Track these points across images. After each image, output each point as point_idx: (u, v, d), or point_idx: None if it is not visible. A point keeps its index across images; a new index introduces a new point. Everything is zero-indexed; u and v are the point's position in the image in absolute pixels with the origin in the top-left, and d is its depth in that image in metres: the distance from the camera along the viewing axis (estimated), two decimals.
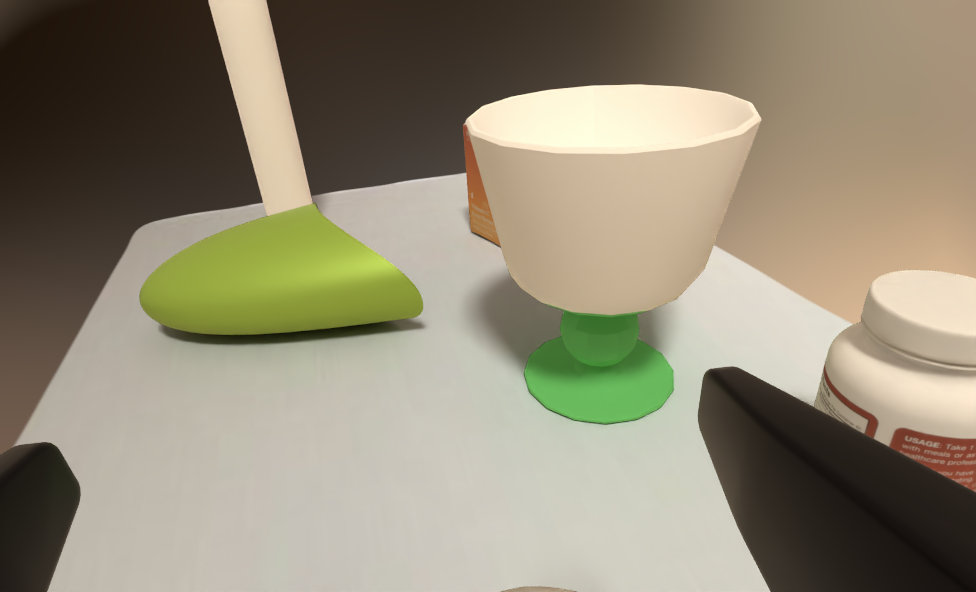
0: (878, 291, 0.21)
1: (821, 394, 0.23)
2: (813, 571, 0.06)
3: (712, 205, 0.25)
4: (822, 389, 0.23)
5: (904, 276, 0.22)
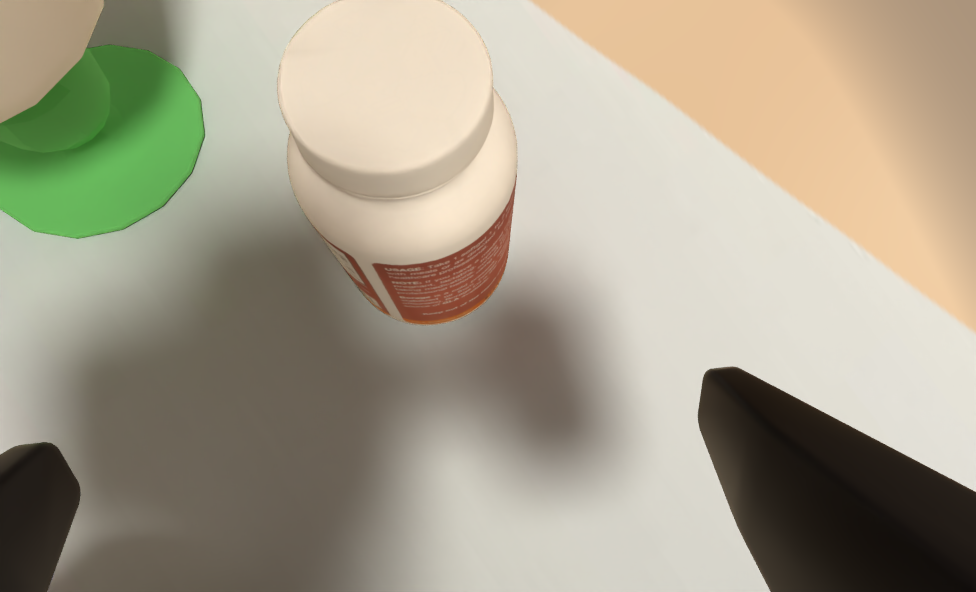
0: (287, 81, 0.12)
1: None
2: (812, 571, 0.06)
3: None
4: None
5: (332, 21, 0.13)
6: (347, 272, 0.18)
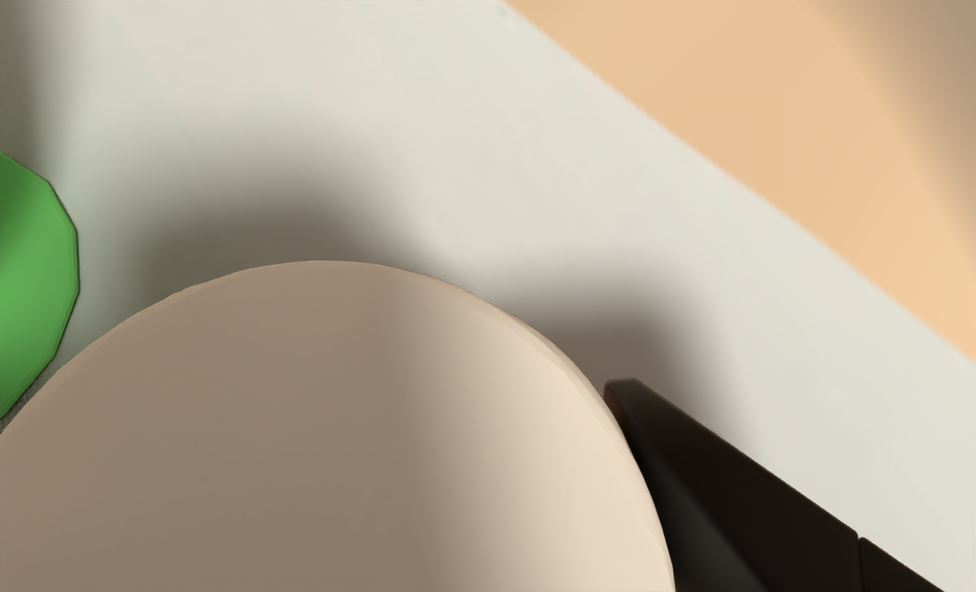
0: None
1: None
2: (682, 588, 0.06)
3: None
4: None
5: (128, 388, 0.04)
6: None
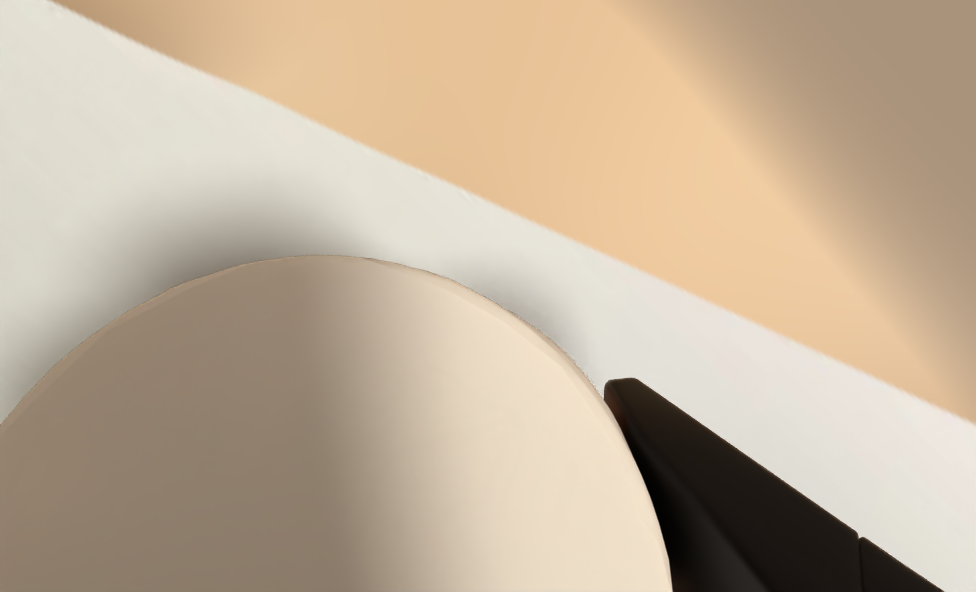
0: None
1: None
2: (682, 588, 0.06)
3: None
4: None
5: (126, 385, 0.04)
6: None
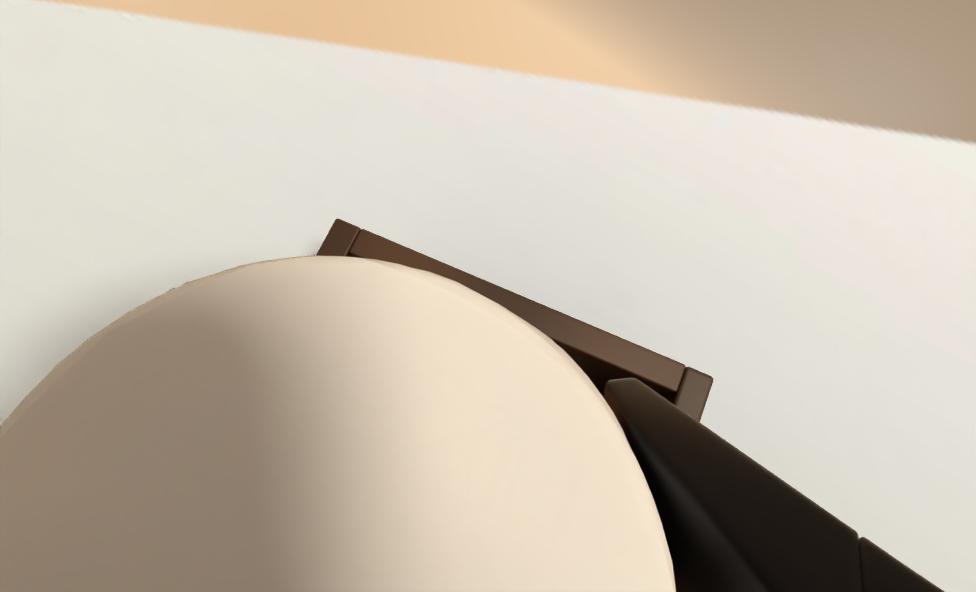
0: None
1: None
2: (682, 587, 0.06)
3: None
4: None
5: (127, 384, 0.04)
6: None
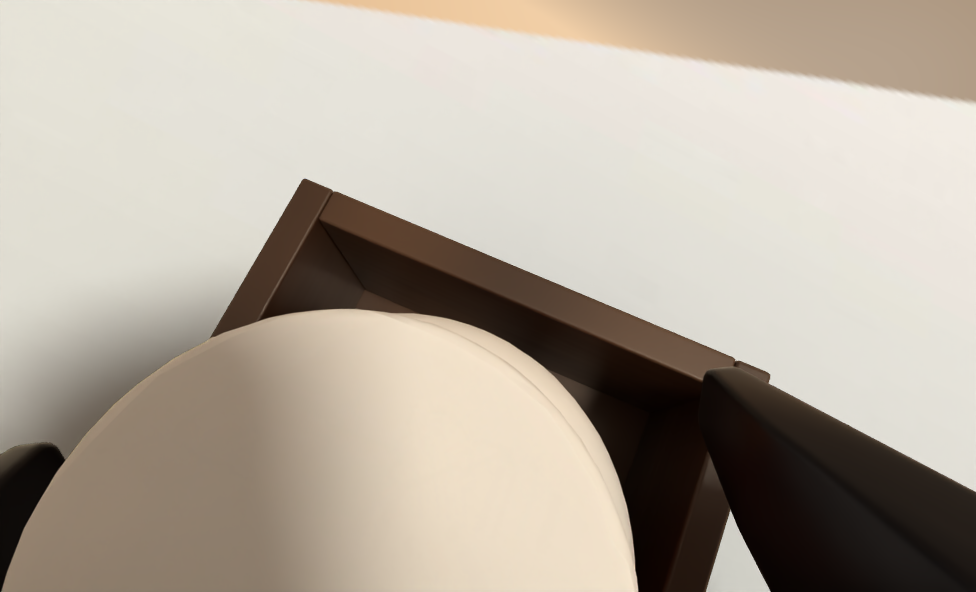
0: None
1: None
2: (812, 571, 0.06)
3: None
4: None
5: (174, 423, 0.04)
6: None
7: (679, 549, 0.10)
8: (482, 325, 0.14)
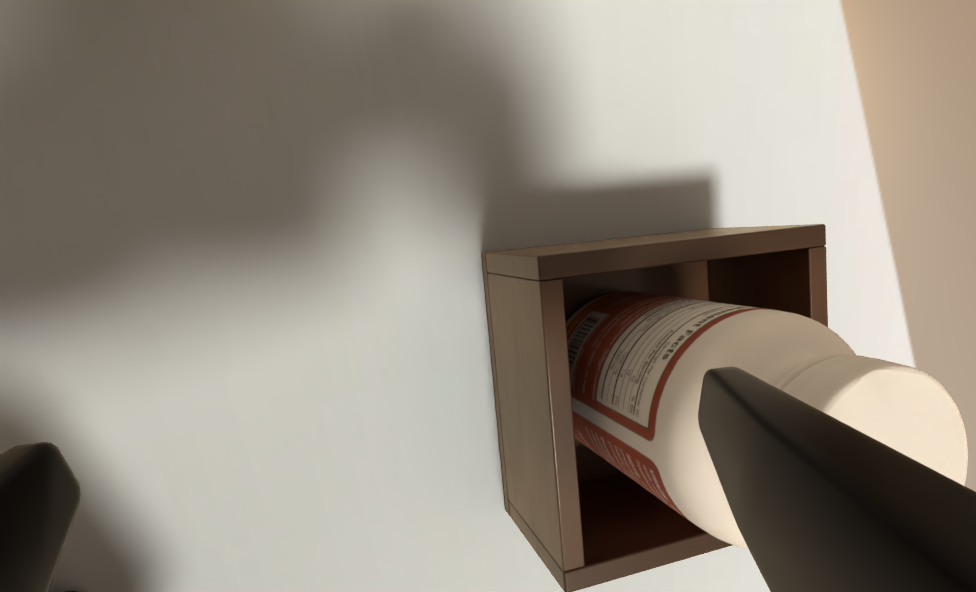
0: (847, 399, 0.11)
1: (668, 336, 0.15)
2: (813, 571, 0.06)
3: None
4: (674, 336, 0.15)
5: (915, 392, 0.12)
6: (595, 370, 0.18)
7: None
8: None
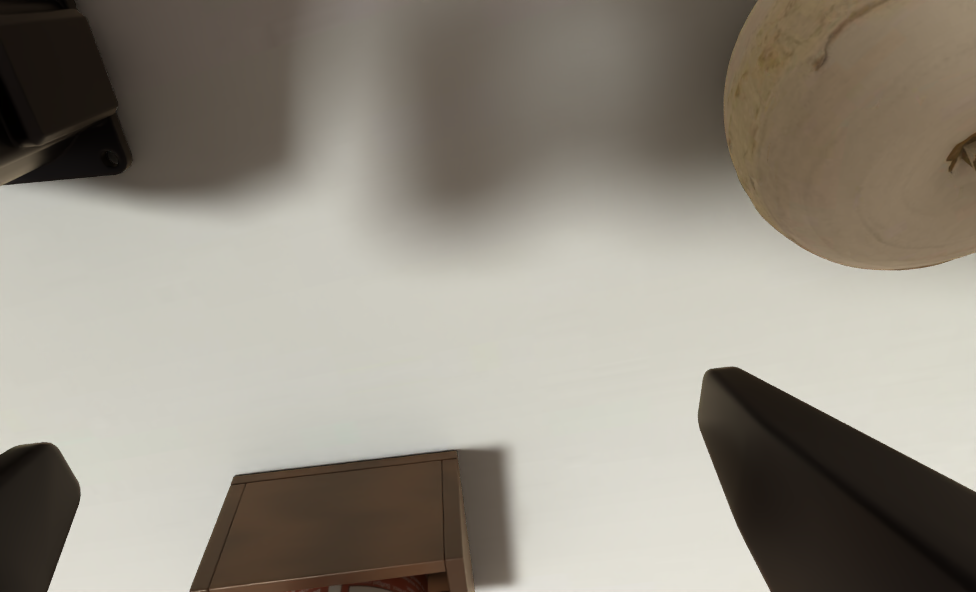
0: None
1: None
2: (813, 571, 0.06)
3: None
4: None
5: None
6: None
7: None
8: None
